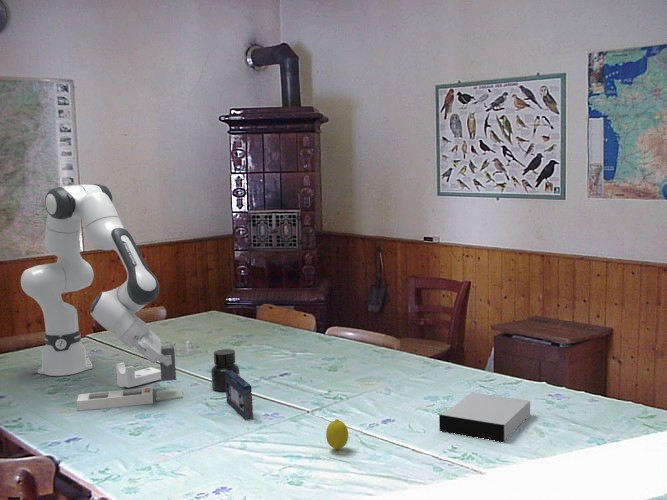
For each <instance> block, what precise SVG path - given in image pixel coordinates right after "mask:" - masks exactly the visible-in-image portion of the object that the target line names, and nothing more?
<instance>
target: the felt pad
mask: <svg viewBox="0 0 667 500" xmlns="http://www.w3.org/2000/svg"><path fill="white" fill-rule="evenodd" d="M155 396H156V397H155V401H168V400H176V399H177V400H179V399H183V388H174V389H165V390H156V391H155Z"/></svg>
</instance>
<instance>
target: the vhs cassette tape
mask: <svg viewBox="0 0 667 500" xmlns="http://www.w3.org/2000/svg"><path fill="white" fill-rule="evenodd" d="M225 378H226V379H225V383H226V392H225V394H226V395H225V396H226V403H227V404H228V406H230V407H231V409H233V410H234V411H235V412H236V414H238V415H239V416H240V417H241V418H242V419H243V420H244V421H249V420H253V419H254V412H253V411H254V409H253V393H252V392H253V391H252V385H251V384H250V383H249V382H248V381H246V380H245V379H244V378H243V377H241V375H240V376H239V375H237V374H236V373H235V372H233V371H232V370H229V371H225Z"/></svg>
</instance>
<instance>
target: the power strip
mask: <svg viewBox="0 0 667 500" xmlns="http://www.w3.org/2000/svg"><path fill="white" fill-rule="evenodd" d="M150 404H154V390H153V387H152V386H151V387H144V388H143V387H142V388H141V387H139V388H133V389H130V388H129V389H122V390H121V389H120V390H110V391H100V392H87V393H79V394H78V396H77V399H76V407H77V412H80V411H89V410H90V411H91V410H100V409H112V408H121V407H130V406H139V405H140V406H141V405H150Z"/></svg>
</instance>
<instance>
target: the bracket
mask: <svg viewBox="0 0 667 500" xmlns="http://www.w3.org/2000/svg"><path fill="white" fill-rule="evenodd" d="M115 369H116V383H117V384H116V385H117V386H118V387H120V388H129V389H130V388H132V387H136V386H137V387H138V386H141V385H145V384H148V383H151V382H155V381H159V380H161V369H158V368H155V367H146V368H144V369H138V370H135V366H134V365H131V366H126V363H125V362H120V363H116V364H115Z"/></svg>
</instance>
